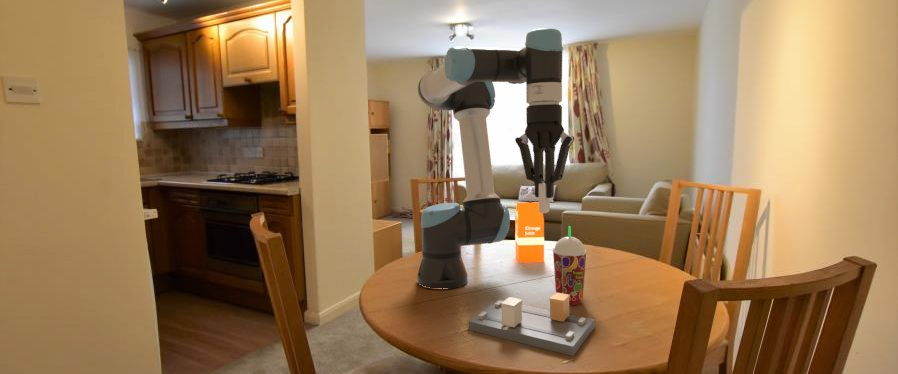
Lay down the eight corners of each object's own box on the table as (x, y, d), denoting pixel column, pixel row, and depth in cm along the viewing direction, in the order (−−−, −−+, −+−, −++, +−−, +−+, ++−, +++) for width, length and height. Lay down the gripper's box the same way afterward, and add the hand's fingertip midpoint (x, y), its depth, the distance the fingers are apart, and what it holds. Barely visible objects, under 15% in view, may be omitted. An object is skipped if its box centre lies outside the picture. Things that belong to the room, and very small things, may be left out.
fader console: (468, 329, 101) (468, 317, 101) (499, 307, 113) (498, 296, 113) (572, 356, 88) (573, 342, 87) (594, 327, 100) (594, 315, 100)
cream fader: (501, 324, 98) (500, 303, 97) (509, 317, 101) (509, 297, 101) (514, 327, 96) (514, 305, 95) (522, 320, 99) (522, 299, 99)
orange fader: (549, 319, 100) (549, 298, 99) (556, 312, 103) (556, 292, 103) (563, 322, 98) (563, 300, 98) (569, 315, 102) (569, 294, 101)
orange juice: (544, 261, 152) (544, 204, 150) (518, 262, 152) (517, 204, 150) (539, 255, 160) (539, 200, 158) (515, 256, 160) (514, 201, 158)
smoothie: (580, 310, 110) (581, 230, 108) (548, 304, 115) (548, 227, 112) (589, 299, 117) (590, 224, 115) (558, 293, 122) (558, 221, 119)
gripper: (508, 105, 97) (510, 212, 99) (567, 101, 89) (567, 217, 92) (523, 106, 103) (524, 207, 106) (579, 103, 96) (578, 211, 98)
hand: (544, 212), depth 99 cm, fingers closed
